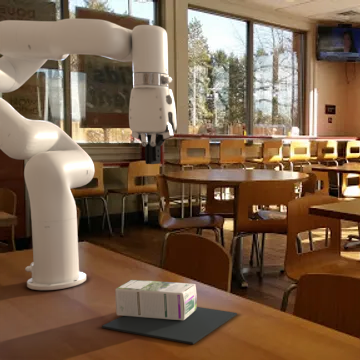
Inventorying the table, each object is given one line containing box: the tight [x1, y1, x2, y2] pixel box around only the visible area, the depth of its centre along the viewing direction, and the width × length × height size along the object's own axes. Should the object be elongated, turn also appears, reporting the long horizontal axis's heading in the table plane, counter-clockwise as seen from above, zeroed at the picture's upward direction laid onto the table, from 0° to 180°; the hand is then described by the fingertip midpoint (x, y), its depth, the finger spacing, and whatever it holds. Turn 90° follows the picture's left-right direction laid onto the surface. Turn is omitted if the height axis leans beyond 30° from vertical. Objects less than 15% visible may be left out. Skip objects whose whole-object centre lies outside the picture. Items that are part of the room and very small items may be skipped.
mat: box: [101, 306, 238, 345], centre depth 95 cm, size 20×15×1 cm
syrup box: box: [114, 279, 198, 320], centre depth 98 cm, size 6×6×14 cm
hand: (152, 163), depth 113 cm, fingers closed
